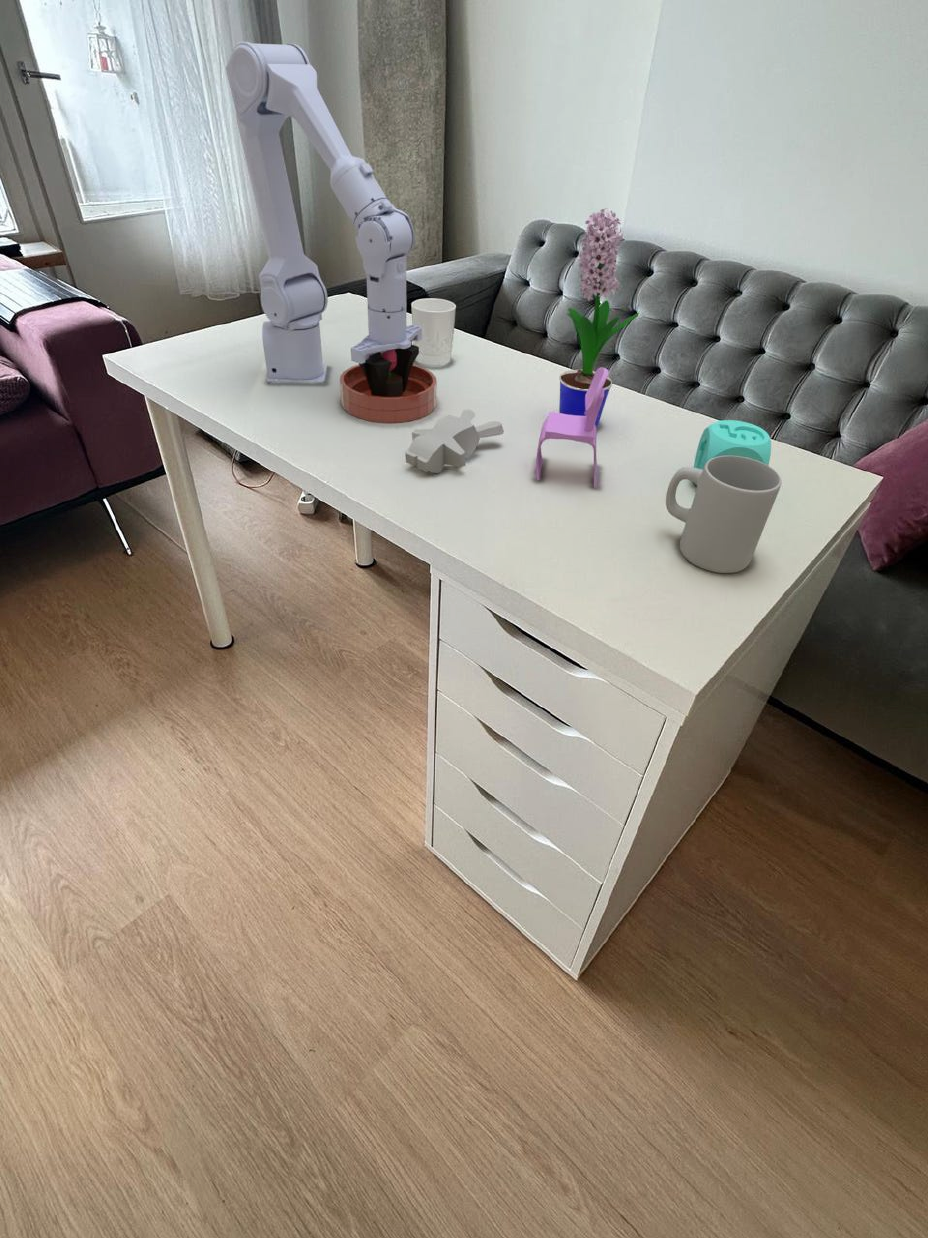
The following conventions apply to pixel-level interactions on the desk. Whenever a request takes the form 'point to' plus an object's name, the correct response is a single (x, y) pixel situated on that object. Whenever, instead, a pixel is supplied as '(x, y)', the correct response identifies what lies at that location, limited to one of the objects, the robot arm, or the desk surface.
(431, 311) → the white cup
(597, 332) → the hyacinth
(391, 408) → the bowl
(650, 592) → the desk surface
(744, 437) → the decorative dice
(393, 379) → the tulip
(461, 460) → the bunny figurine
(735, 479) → the mug
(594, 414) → the toy chair
